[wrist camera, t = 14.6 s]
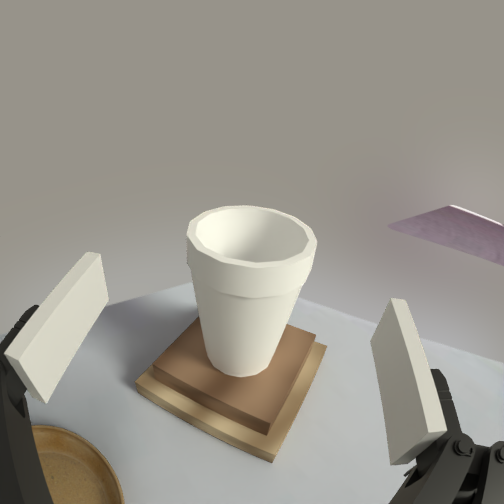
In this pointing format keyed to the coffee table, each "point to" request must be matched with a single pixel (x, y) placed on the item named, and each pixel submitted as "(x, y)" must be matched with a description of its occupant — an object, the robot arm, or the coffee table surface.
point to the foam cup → (246, 281)
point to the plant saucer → (75, 468)
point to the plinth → (228, 426)
